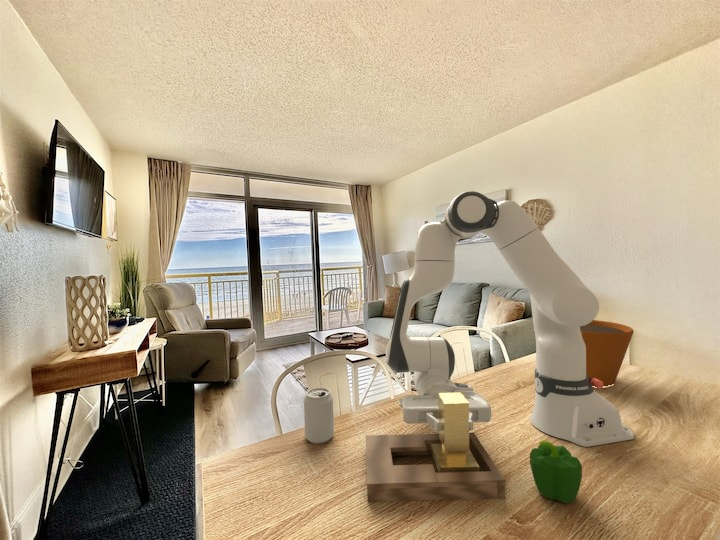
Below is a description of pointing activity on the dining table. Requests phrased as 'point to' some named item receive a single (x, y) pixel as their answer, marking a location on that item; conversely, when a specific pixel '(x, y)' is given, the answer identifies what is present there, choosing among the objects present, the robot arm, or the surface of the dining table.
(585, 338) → the flower pot
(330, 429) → the can
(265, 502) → the dining table surface
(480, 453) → the walnut keyhole plate
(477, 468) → the brass peg
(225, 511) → the dining table surface
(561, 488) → the bell pepper
